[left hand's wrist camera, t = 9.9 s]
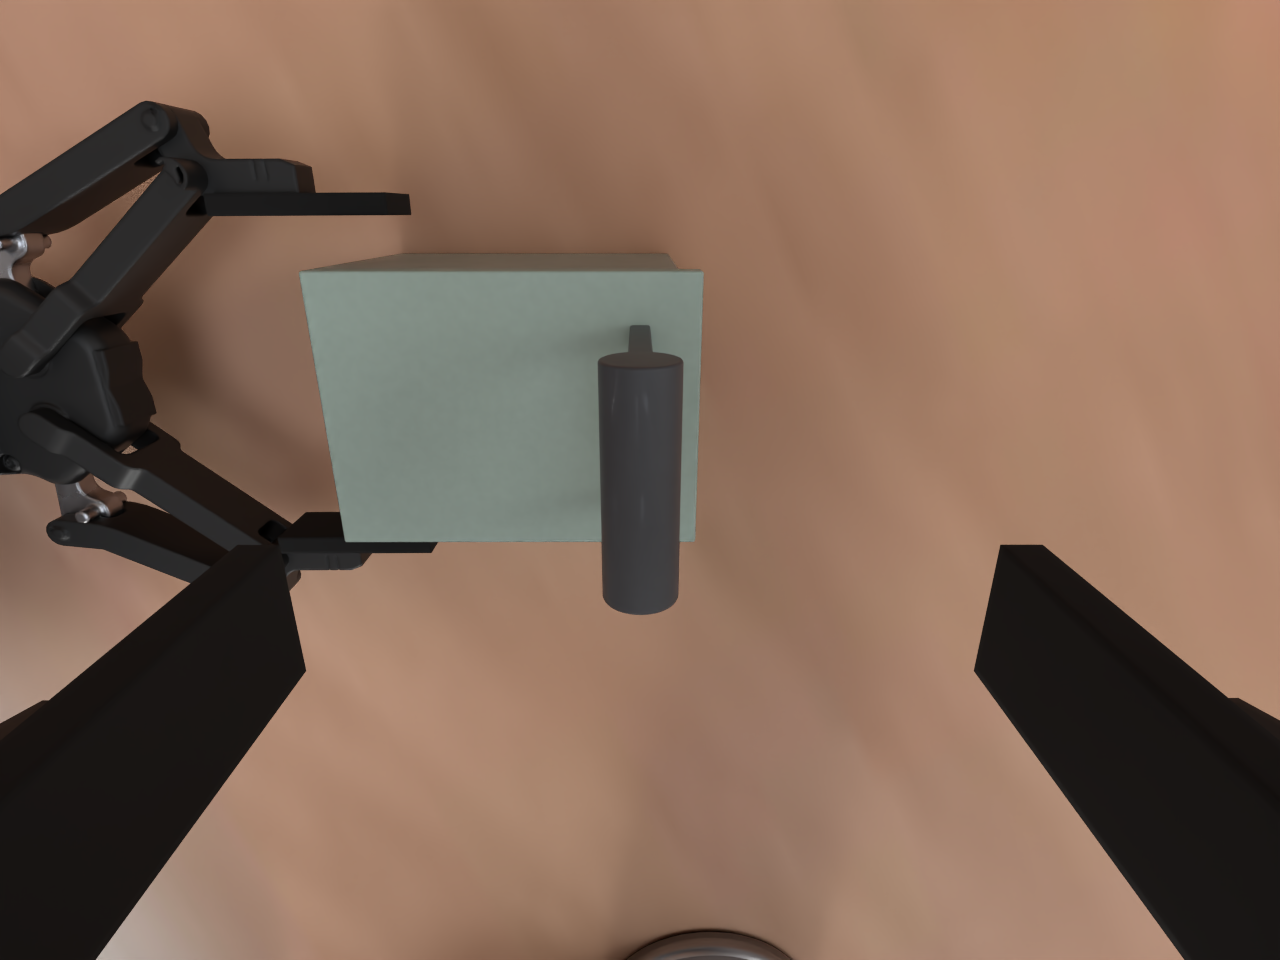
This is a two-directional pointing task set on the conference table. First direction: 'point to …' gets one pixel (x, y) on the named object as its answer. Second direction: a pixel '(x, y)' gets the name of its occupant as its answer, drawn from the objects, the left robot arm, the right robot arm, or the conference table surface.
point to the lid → (516, 410)
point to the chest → (513, 261)
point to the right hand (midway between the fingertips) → (421, 382)
